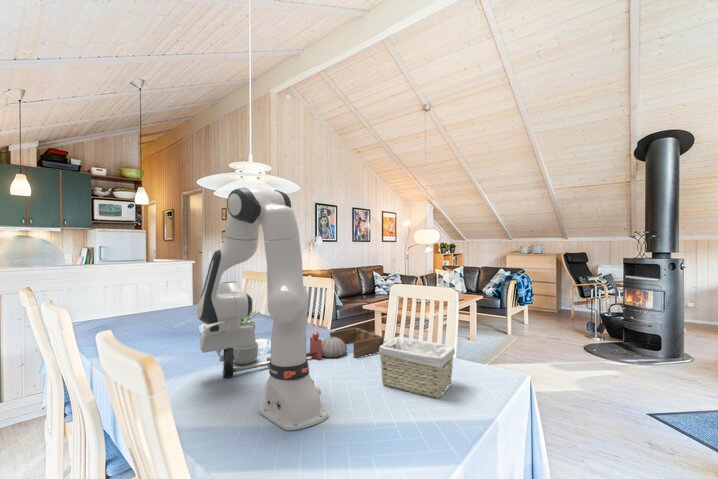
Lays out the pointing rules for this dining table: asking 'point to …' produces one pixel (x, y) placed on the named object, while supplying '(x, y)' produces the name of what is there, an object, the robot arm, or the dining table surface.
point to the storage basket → (417, 365)
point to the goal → (360, 340)
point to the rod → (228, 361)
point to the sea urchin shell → (333, 347)
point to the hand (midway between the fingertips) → (228, 359)
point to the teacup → (246, 354)
